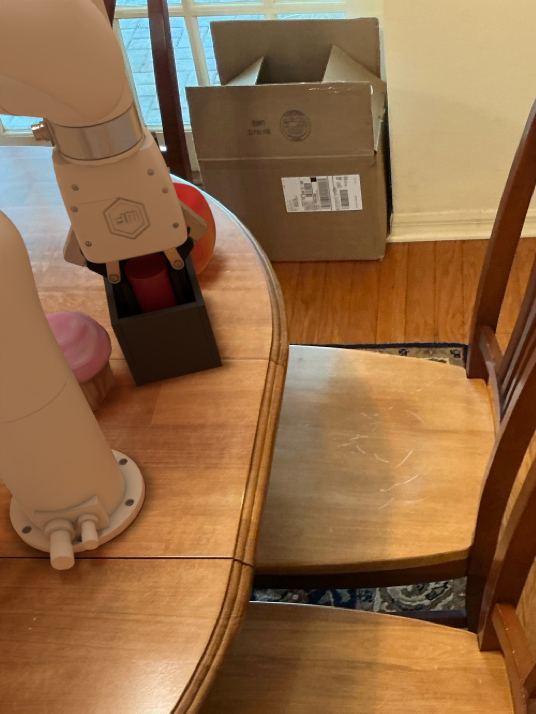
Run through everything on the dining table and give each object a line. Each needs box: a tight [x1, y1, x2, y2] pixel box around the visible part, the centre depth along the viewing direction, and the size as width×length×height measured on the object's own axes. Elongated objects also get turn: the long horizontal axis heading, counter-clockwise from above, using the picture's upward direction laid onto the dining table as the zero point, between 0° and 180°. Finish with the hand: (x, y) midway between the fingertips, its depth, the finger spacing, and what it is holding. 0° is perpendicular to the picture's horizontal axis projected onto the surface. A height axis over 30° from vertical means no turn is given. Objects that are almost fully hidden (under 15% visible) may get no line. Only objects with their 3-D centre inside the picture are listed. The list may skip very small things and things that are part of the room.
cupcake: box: [45, 310, 116, 412], centre depth 80 cm, size 9×9×10 cm
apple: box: [172, 181, 217, 276], centre depth 93 cm, size 10×10×10 cm
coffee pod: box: [124, 254, 178, 313], centre depth 80 cm, size 4×4×4 cm
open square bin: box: [102, 251, 223, 387], centre depth 85 cm, size 13×10×8 cm
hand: (157, 299), depth 82 cm, fingers closed on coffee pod, 4 cm apart
